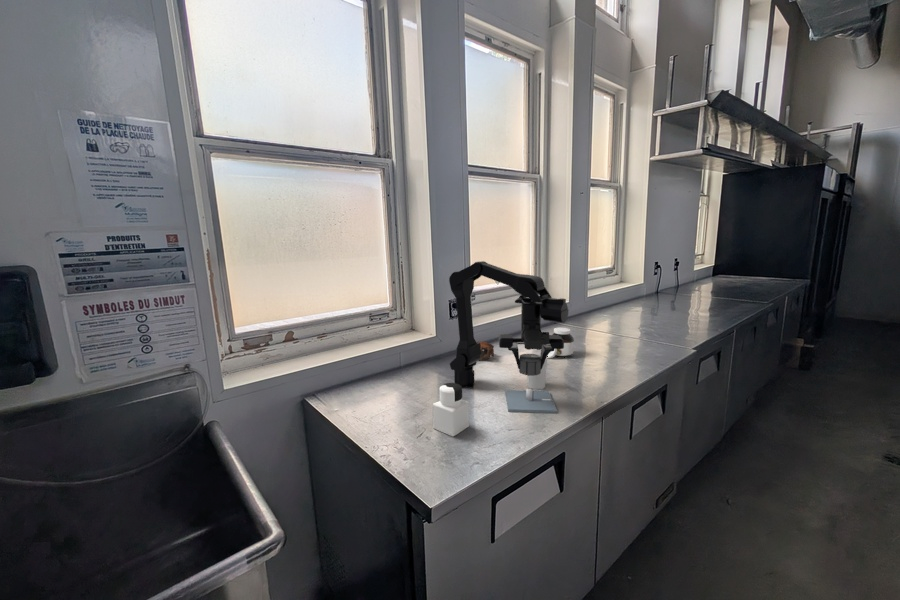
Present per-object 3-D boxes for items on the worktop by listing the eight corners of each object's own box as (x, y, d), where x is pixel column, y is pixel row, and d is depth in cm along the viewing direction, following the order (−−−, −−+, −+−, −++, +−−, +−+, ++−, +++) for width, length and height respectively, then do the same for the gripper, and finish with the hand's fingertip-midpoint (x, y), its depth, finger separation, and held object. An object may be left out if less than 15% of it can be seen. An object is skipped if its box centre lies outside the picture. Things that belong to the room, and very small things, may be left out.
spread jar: (575, 355, 159) (576, 328, 157) (568, 362, 150) (569, 334, 148) (547, 350, 165) (548, 325, 164) (539, 357, 156) (540, 331, 154)
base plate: (508, 411, 108) (508, 399, 107) (505, 392, 121) (505, 380, 121) (557, 413, 106) (557, 400, 106) (548, 393, 120) (548, 381, 119)
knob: (520, 375, 109) (520, 358, 108) (518, 368, 115) (518, 352, 114) (541, 375, 109) (542, 359, 108) (538, 368, 115) (538, 352, 114)
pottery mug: (466, 358, 158) (471, 340, 160) (484, 365, 162) (489, 347, 164) (480, 359, 147) (485, 339, 150) (499, 366, 151) (504, 347, 153)
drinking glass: (546, 390, 122) (547, 361, 121) (526, 389, 124) (526, 360, 122) (545, 382, 129) (546, 355, 127) (526, 381, 130) (526, 354, 129)
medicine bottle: (449, 418, 104) (449, 378, 102) (469, 426, 99) (469, 384, 98) (432, 428, 99) (431, 386, 97) (453, 437, 94) (452, 393, 92)
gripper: (500, 324, 102) (499, 377, 105) (569, 325, 101) (566, 379, 103) (499, 316, 113) (498, 364, 116) (560, 316, 111) (558, 365, 114)
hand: (529, 368), depth 112 cm, fingers closed on knob, 6 cm apart
